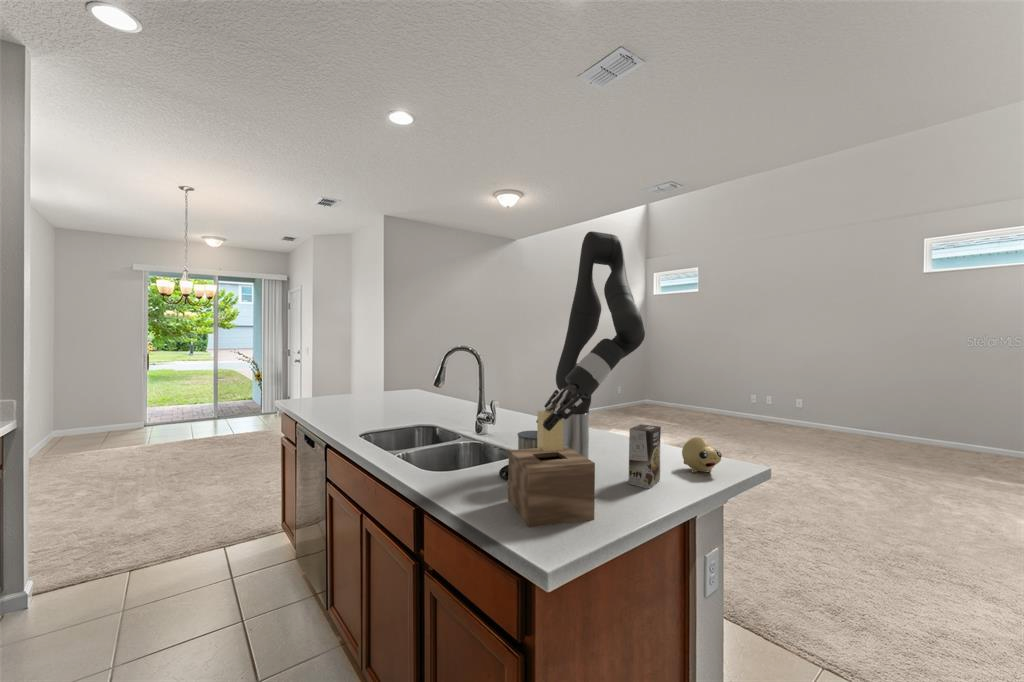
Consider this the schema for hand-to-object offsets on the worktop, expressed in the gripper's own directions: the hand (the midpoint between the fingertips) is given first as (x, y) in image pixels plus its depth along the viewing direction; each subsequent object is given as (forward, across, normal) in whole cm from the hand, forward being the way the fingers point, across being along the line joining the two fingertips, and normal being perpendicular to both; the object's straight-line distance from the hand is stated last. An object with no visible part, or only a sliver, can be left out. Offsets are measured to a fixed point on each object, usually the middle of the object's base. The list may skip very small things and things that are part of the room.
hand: (542, 426), depth 105 cm
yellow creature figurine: (-27, -15, +56) cm, 64 cm away
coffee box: (-11, -11, +40) cm, 43 cm away
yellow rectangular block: (+3, 0, +5) cm, 6 cm away
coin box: (+13, 0, +16) cm, 20 cm away
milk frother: (+13, -21, +16) cm, 29 cm away
